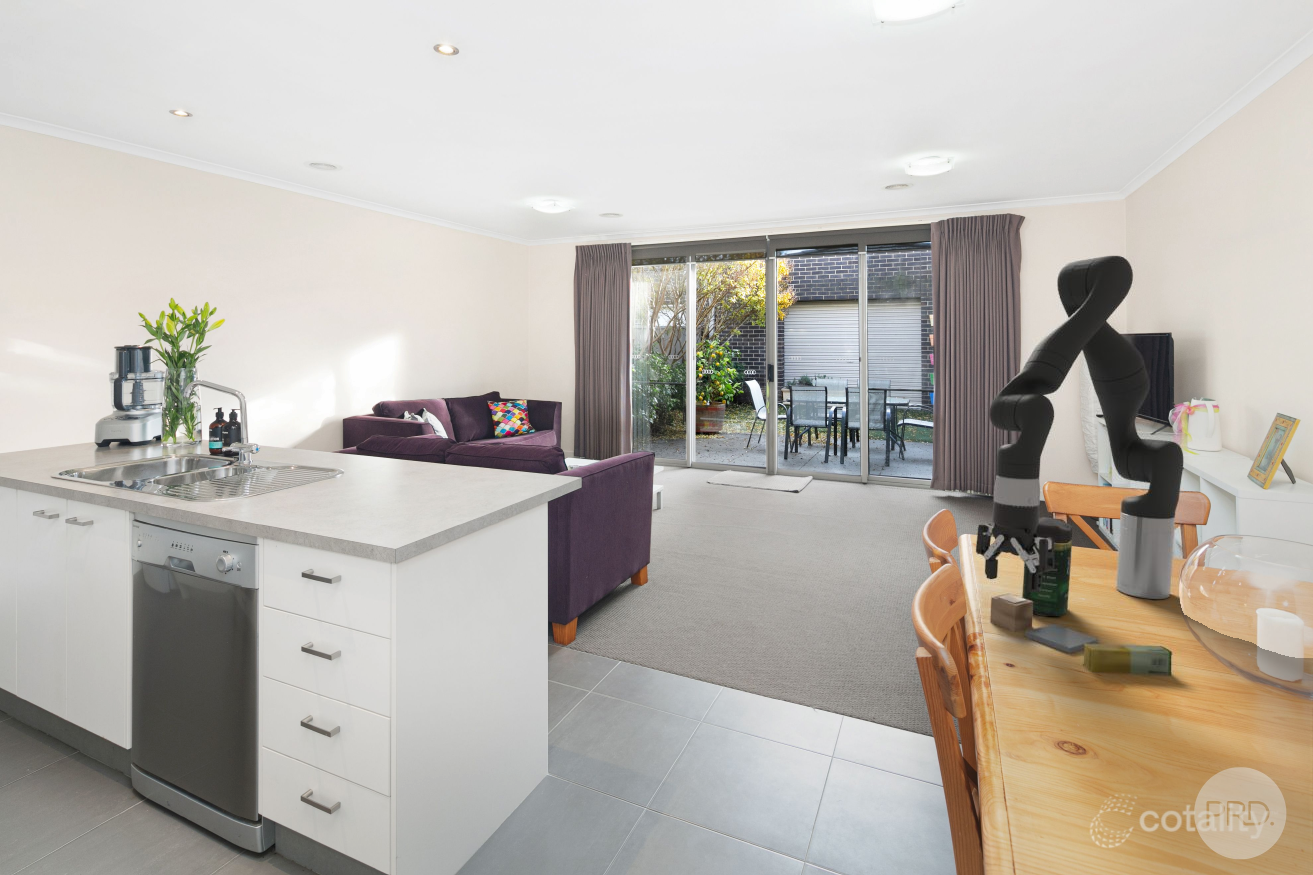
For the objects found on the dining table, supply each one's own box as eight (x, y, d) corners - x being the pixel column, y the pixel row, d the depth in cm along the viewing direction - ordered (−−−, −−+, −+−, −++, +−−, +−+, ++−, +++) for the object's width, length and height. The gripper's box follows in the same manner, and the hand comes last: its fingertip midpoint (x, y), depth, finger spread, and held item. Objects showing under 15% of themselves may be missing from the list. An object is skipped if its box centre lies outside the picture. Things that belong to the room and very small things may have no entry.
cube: (1007, 617, 126) (1008, 592, 125) (1031, 627, 121) (1033, 600, 121) (990, 622, 124) (991, 596, 123) (1014, 631, 119) (1015, 604, 119)
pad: (1053, 628, 120) (1053, 623, 120) (1098, 644, 113) (1098, 639, 113) (1025, 636, 117) (1025, 631, 117) (1069, 653, 109) (1069, 647, 109)
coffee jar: (1065, 621, 124) (1070, 526, 122) (1018, 612, 128) (1022, 521, 127) (1070, 606, 131) (1075, 517, 129) (1026, 598, 136) (1030, 512, 134)
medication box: (1161, 669, 104) (1162, 645, 104) (1172, 676, 101) (1174, 651, 101) (1082, 665, 106) (1082, 642, 105) (1091, 673, 103) (1092, 648, 103)
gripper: (1067, 505, 115) (1061, 593, 117) (995, 492, 128) (991, 571, 130) (1039, 509, 112) (1034, 599, 114) (969, 495, 125) (965, 576, 126)
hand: (1011, 584), depth 122 cm, fingers open, 8 cm apart
